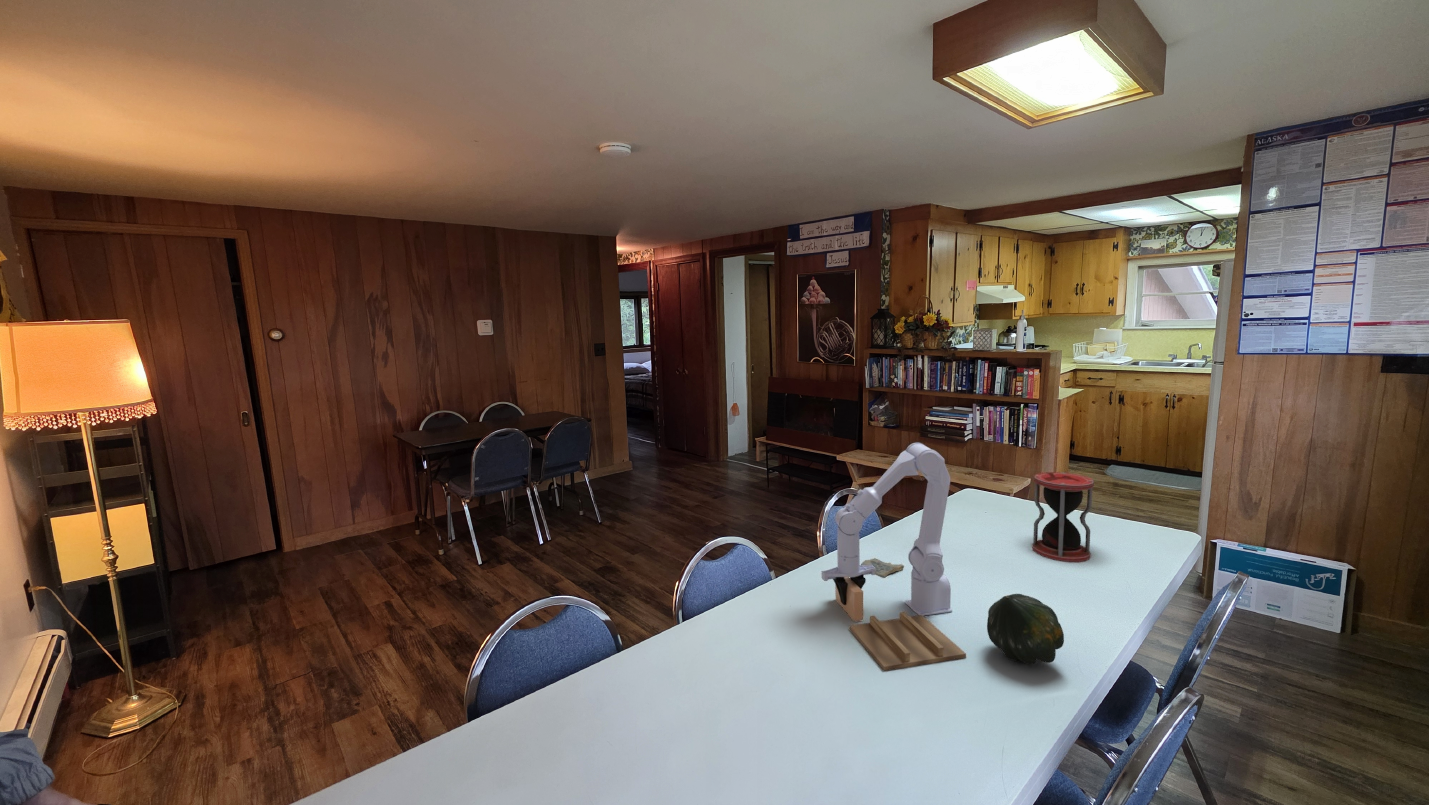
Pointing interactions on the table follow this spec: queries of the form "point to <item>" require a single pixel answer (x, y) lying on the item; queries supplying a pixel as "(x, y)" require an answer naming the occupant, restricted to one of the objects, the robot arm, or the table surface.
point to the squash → (1024, 629)
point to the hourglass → (1062, 517)
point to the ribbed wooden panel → (905, 642)
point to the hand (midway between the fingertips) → (848, 602)
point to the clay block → (852, 600)
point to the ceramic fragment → (883, 567)
